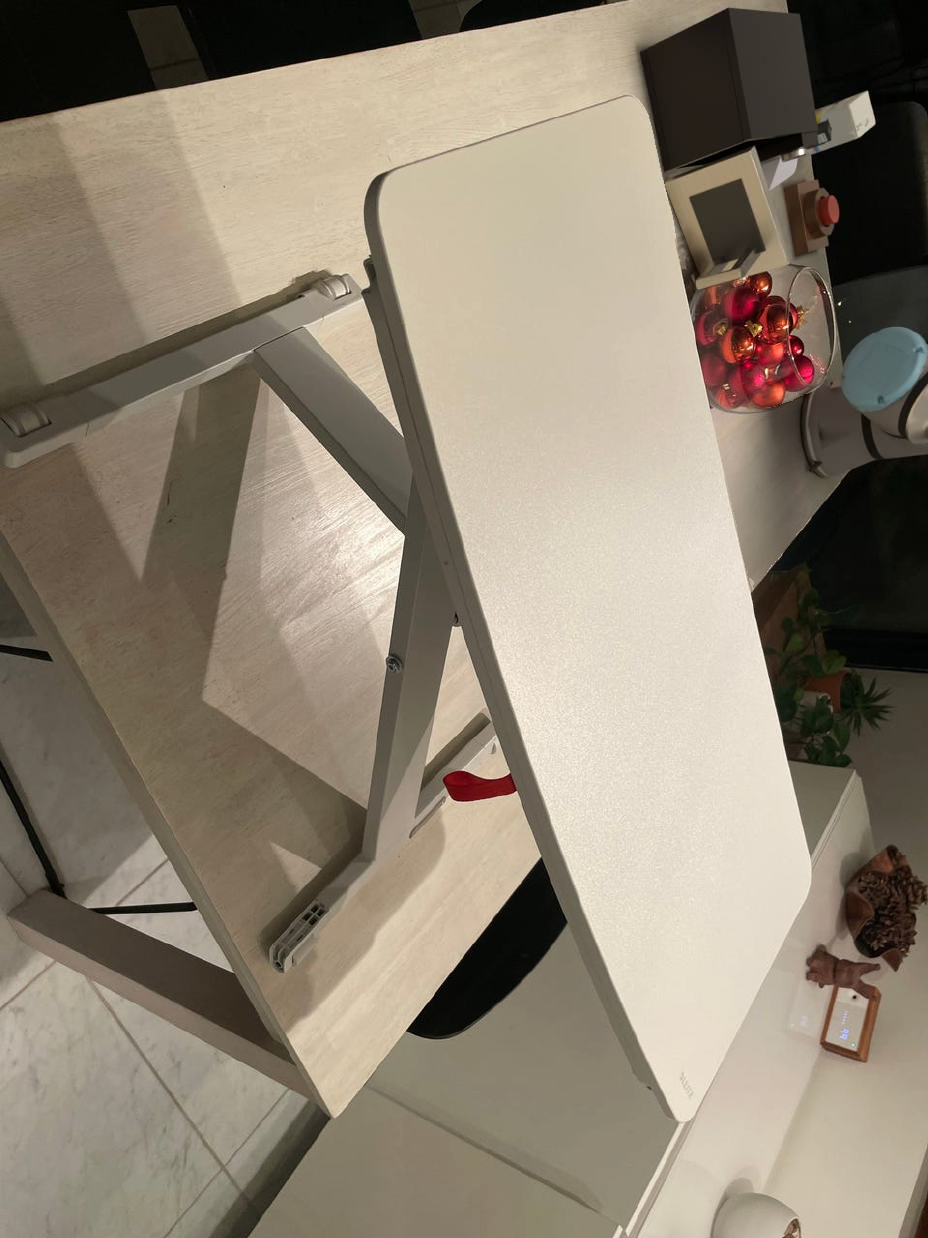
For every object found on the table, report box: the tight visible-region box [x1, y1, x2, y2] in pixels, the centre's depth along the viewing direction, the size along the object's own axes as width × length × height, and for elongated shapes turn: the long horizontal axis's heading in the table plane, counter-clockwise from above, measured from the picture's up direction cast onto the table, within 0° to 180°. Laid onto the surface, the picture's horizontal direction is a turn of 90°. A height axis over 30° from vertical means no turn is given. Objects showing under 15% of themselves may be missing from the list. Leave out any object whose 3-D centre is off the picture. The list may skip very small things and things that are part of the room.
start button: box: [818, 195, 840, 226], centre depth 144 cm, size 4×4×2 cm
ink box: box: [797, 90, 876, 160], centre depth 140 cm, size 9×5×12 cm, turn 123°
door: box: [664, 146, 793, 291], centre depth 117 cm, size 8×15×12 cm, turn 40°
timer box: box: [783, 179, 835, 257], centre depth 146 cm, size 10×8×4 cm
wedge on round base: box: [761, 158, 799, 192], centre depth 135 cm, size 9×7×13 cm
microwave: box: [639, 7, 819, 173], centre depth 120 cm, size 16×20×12 cm
